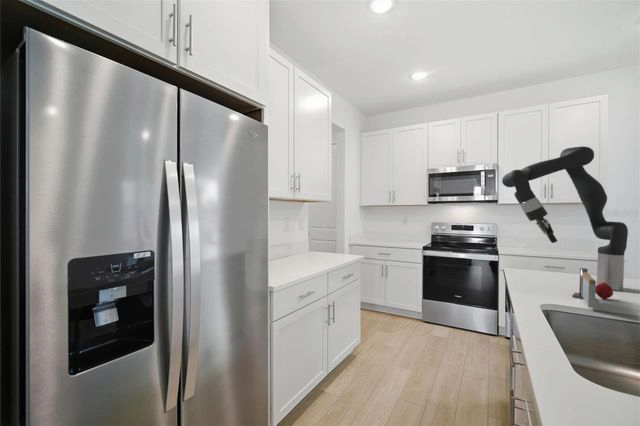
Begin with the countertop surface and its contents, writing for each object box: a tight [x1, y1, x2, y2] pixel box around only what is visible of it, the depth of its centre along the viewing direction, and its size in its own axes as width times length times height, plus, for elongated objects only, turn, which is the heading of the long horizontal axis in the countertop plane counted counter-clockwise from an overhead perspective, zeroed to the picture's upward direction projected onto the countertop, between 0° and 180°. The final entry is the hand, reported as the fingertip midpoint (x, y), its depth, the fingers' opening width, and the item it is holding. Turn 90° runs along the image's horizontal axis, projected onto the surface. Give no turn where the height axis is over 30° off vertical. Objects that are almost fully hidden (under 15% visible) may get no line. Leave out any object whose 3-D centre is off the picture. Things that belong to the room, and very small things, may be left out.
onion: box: [595, 281, 614, 300], centre depth 123 cm, size 6×6×8 cm
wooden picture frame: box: [581, 271, 597, 309], centre depth 116 cm, size 18×2×11 cm, turn 144°
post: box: [572, 267, 588, 300], centre depth 125 cm, size 6×6×13 cm
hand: (554, 242), depth 128 cm, fingers closed
